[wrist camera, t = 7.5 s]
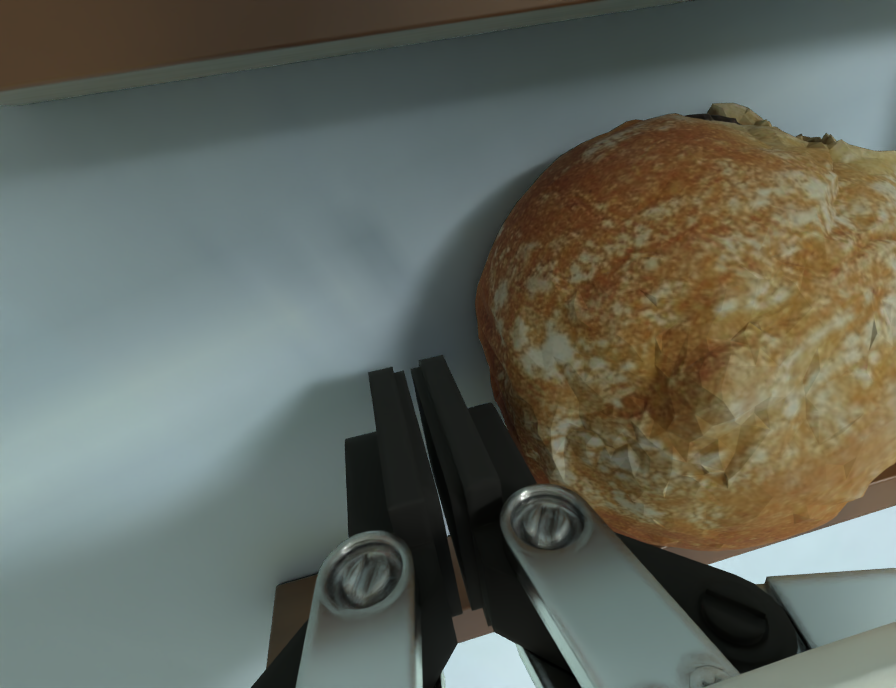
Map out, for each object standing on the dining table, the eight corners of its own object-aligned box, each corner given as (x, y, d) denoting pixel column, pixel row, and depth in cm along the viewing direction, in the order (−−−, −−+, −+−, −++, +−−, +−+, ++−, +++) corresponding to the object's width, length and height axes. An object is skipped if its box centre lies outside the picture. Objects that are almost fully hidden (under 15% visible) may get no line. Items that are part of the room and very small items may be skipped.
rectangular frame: (1144, -162, 10) (1466, -265, 7) (889, 438, 18) (991, 499, 15) (-47, -11, 7) (-296, -83, 4) (291, 614, 15) (281, 728, 12)
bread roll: (732, 160, 15) (1138, -26, 7) (763, 468, 16) (1169, 613, 8) (433, 187, 13) (527, -18, 5) (480, 530, 14) (626, 794, 6)
